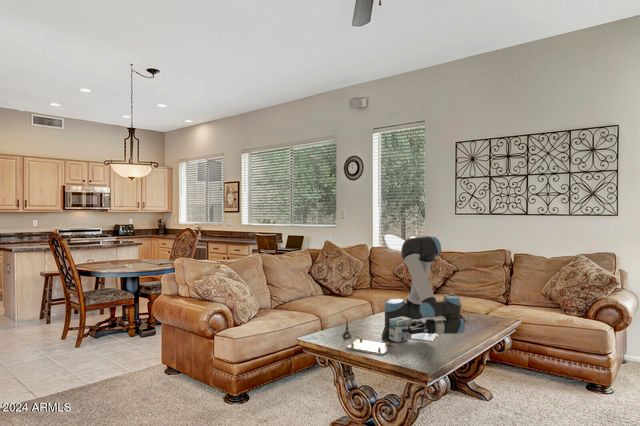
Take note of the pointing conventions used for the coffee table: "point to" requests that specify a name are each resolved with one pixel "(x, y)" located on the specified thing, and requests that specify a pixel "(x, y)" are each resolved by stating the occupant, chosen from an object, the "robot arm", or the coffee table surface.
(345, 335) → the eiffel tower figurine
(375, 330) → the coffee table surface
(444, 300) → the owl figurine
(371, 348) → the plate
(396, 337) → the light bulb box
